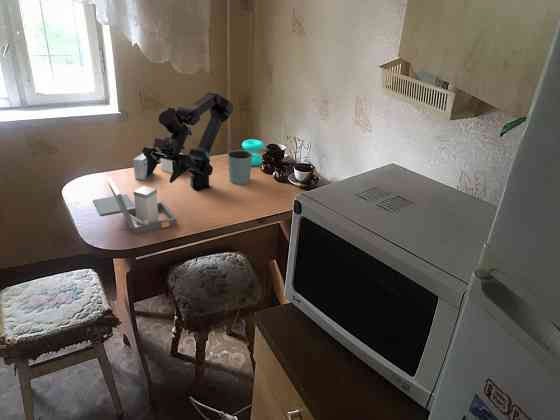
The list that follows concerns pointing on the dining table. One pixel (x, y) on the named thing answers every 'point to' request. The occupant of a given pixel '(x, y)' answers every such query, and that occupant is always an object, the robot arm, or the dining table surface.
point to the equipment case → (139, 228)
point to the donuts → (254, 150)
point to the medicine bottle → (168, 165)
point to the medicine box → (140, 167)
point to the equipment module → (146, 204)
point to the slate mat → (111, 204)
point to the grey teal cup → (239, 166)
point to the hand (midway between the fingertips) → (158, 179)
